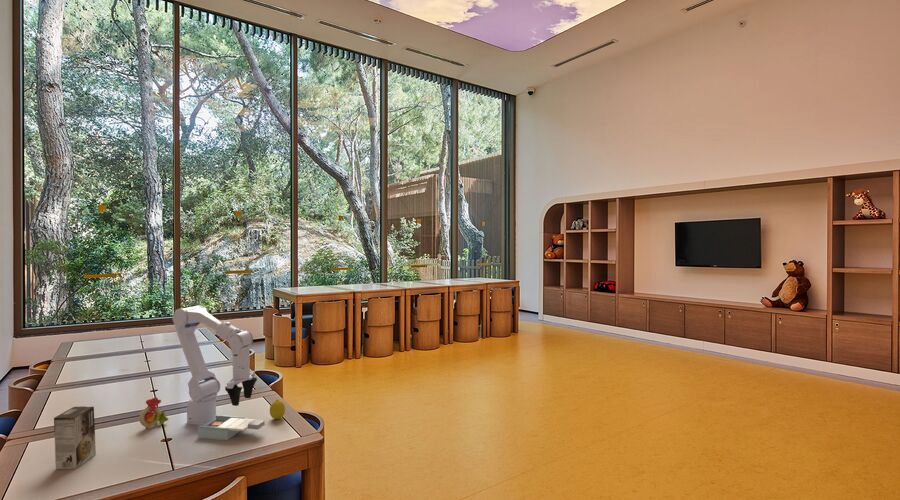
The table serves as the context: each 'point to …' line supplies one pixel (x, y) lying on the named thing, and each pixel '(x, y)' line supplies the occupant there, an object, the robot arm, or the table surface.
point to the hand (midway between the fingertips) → (241, 401)
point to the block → (216, 424)
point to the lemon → (277, 409)
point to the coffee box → (74, 437)
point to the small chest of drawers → (242, 424)
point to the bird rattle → (152, 414)
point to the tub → (217, 429)
